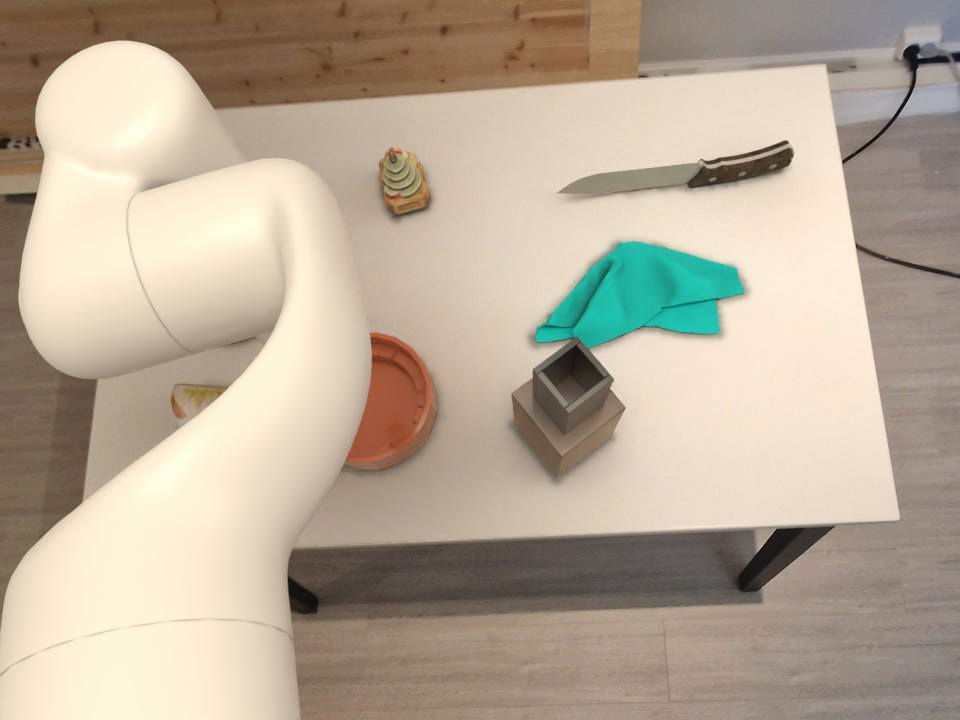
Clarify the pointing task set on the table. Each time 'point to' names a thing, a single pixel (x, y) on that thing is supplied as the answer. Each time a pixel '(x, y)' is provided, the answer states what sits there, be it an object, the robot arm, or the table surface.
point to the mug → (192, 400)
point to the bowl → (393, 406)
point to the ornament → (403, 181)
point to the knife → (688, 172)
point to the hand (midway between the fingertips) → (308, 330)
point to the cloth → (642, 295)
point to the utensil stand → (567, 407)
